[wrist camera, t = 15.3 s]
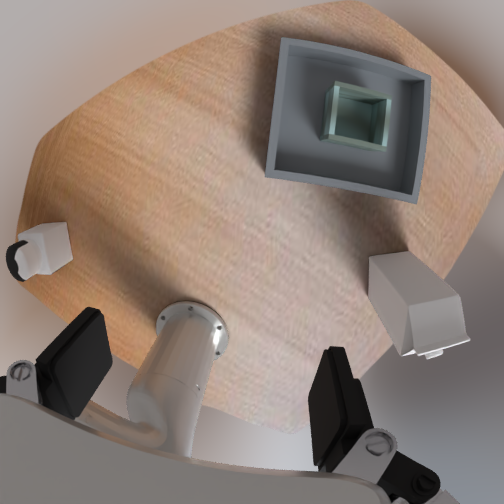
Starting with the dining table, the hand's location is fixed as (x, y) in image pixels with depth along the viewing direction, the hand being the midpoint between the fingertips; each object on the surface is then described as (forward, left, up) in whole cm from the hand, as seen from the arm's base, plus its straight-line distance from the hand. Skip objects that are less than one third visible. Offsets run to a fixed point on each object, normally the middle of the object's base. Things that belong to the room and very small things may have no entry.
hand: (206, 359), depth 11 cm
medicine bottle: (-9, +35, -31) cm, 47 cm away
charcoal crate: (+14, -11, -30) cm, 35 cm away
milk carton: (-7, -22, -31) cm, 38 cm away
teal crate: (+14, -11, -29) cm, 34 cm away
